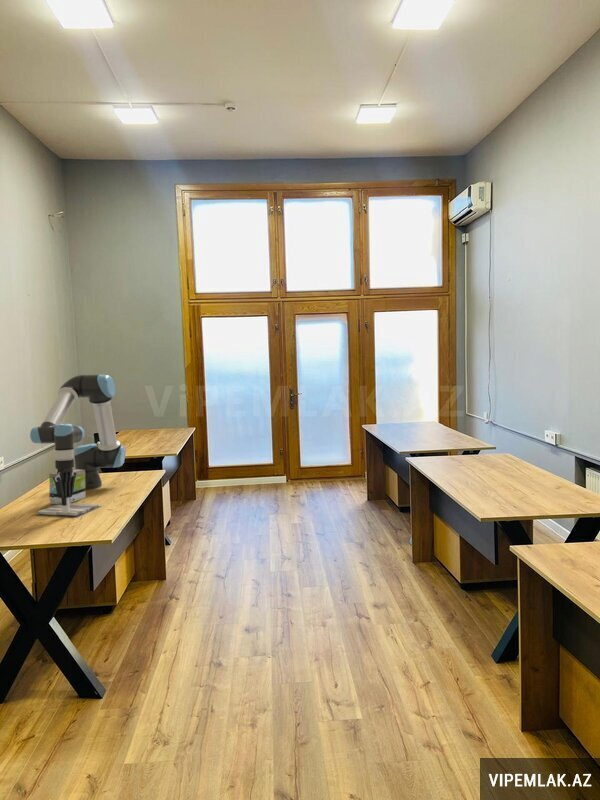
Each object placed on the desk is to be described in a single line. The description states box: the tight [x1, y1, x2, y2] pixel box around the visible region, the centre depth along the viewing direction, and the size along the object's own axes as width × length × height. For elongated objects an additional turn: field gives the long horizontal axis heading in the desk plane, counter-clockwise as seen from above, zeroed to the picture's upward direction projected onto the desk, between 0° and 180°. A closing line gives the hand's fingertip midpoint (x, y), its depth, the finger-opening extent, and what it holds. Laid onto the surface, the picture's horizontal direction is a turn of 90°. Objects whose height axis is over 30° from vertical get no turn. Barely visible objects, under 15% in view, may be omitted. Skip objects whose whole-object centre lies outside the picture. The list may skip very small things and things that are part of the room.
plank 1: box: [36, 506, 62, 515], centre depth 240 cm, size 8×10×1 cm
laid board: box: [50, 502, 99, 513], centre depth 247 cm, size 8×20×1 cm, turn 77°
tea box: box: [49, 468, 86, 505], centre depth 261 cm, size 15×10×15 cm, turn 168°
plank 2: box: [57, 509, 87, 516], centre depth 238 cm, size 8×10×1 cm
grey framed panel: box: [35, 505, 103, 519], centre depth 244 cm, size 19×22×1 cm
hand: (66, 512), depth 234 cm, fingers closed
